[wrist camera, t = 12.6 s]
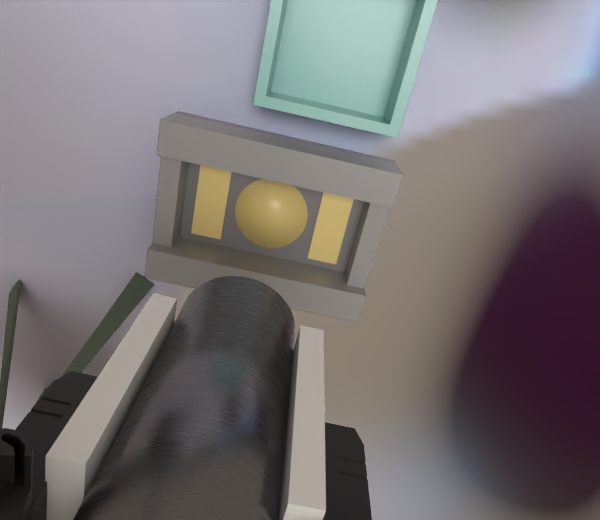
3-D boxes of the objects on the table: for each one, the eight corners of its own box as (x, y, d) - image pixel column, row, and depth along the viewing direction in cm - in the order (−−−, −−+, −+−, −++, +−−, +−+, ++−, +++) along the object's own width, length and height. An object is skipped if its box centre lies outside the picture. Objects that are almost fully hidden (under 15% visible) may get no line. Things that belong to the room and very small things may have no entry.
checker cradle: (178, 111, 31) (160, 119, 27) (394, 160, 31) (403, 175, 28) (162, 254, 35) (144, 277, 31) (354, 295, 35) (357, 322, 32)
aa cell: (187, 263, 16) (-143, 822, 5) (307, 290, 16) (278, 884, 5) (173, 362, 18) (-98, 955, 6) (281, 385, 18) (215, 997, 6)
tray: (287, -55, 27) (282, -69, 24) (431, -19, 27) (446, -28, 24) (260, 98, 30) (253, 104, 27) (389, 128, 31) (397, 137, 27)
